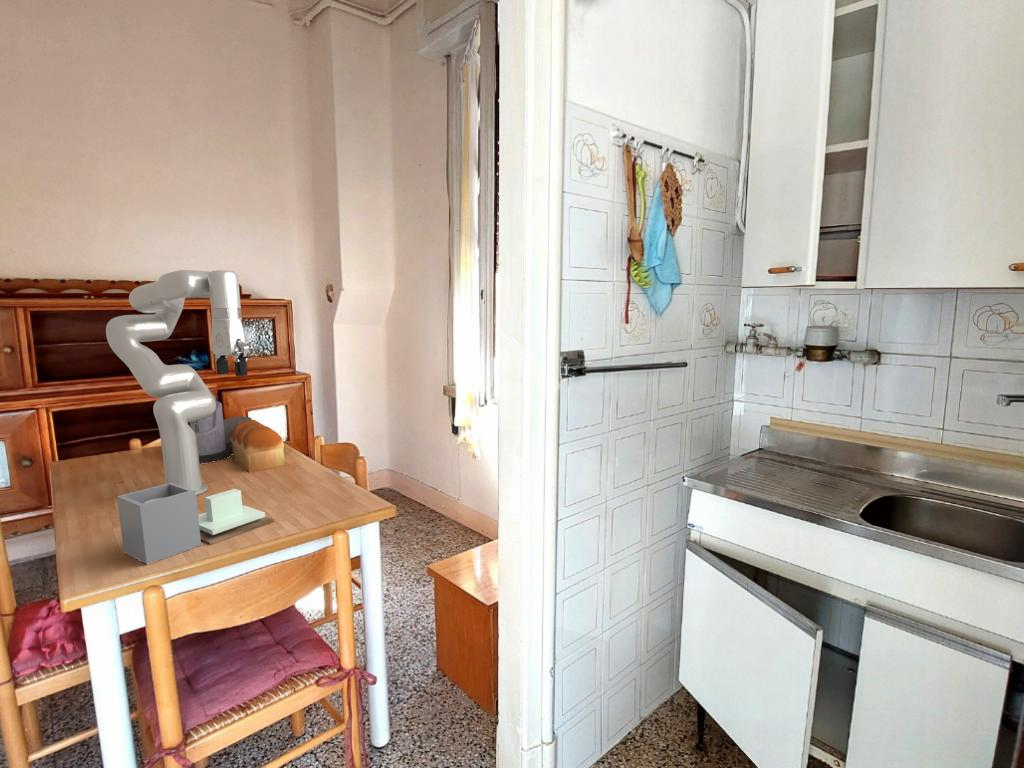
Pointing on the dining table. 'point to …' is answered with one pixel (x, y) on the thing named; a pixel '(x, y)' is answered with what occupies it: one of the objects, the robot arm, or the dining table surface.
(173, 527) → the storage box
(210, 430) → the juicer
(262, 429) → the bread
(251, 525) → the walnut board
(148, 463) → the dining table surface
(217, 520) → the box lid
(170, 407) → the robot arm
